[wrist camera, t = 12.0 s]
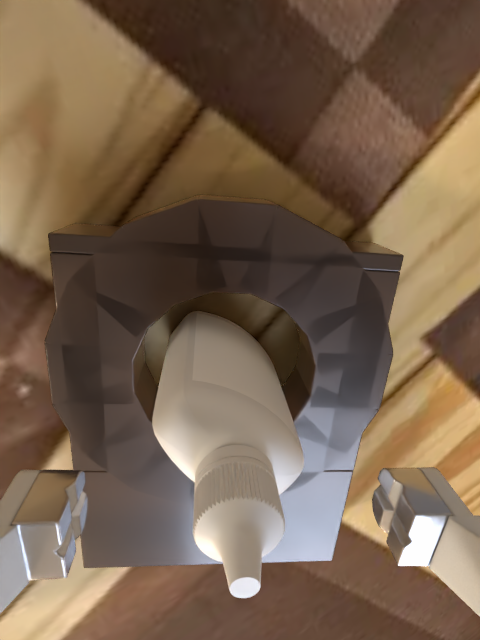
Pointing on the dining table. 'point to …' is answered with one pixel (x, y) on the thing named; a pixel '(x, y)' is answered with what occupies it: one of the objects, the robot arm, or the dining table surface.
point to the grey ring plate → (140, 389)
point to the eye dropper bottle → (228, 441)
